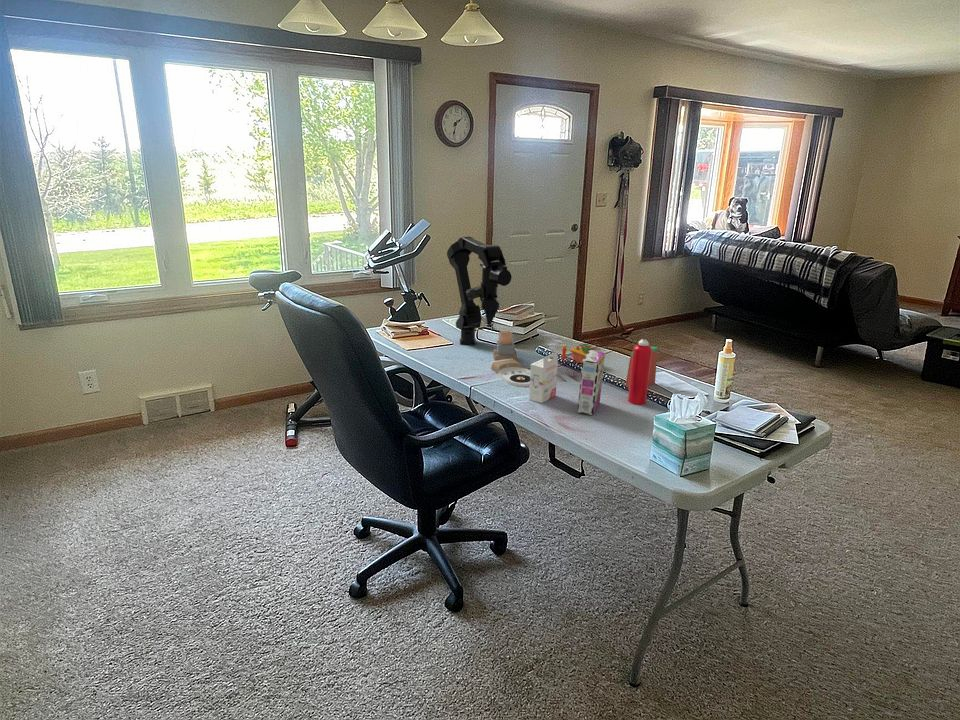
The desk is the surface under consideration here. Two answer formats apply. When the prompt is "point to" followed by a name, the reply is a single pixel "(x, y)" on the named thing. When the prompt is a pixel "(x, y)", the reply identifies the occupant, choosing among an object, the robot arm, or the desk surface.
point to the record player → (511, 372)
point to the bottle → (640, 373)
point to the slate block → (506, 349)
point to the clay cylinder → (505, 337)
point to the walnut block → (504, 356)
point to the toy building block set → (582, 351)
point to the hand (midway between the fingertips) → (488, 321)
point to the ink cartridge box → (543, 378)
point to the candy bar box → (591, 382)
